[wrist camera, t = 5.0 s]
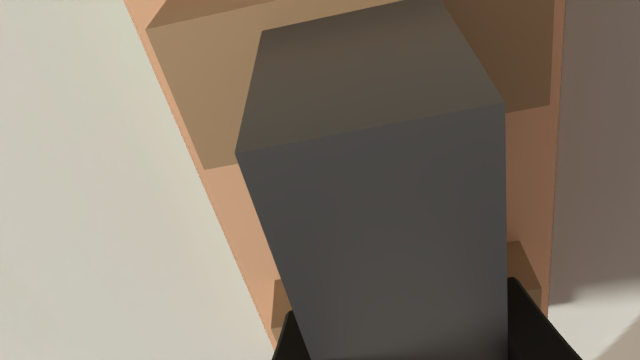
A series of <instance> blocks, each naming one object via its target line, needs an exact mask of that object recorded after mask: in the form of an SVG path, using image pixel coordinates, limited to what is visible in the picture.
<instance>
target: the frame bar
mask: <svg viewBox="0 0 640 360" xmlns="http://www.w3.org/2000/svg"><path fill="white" fill-rule="evenodd" d="M234 154H235V156H236V159H237V162H238V164H239V167H240V170H241V173H242V175H243V178H244V181H245V183H246V186H247V189H248V191H249V194H250V197H251V200H252V202H253V205H254V208H255V210H256V213H257V216H258V218H259V221H260V224H261V226H262V229H263V232H264V235H265V237H266V240H267V243H268V245H269V248H270V251H271V253H272V256H273V259H274V262H275V264H276V267H277V270H278V272H279V275H280V278H281V280H282V283H283V286H284V288H285V291H286V294H287V297H288V299H289V302H290V305H291V307H292V310H293V313H294V315H295V318H296V321H297V323H298V326H299V329H300V332H301V334H302V337H303V340H304V342H305V345H306V348H307V350H308V353H309V356H310V359H311V360H508V308H507V219H506V129H505V101H504V99H503V98H502V96H501V95H500V93H499V91H498V90H497V88H496V87H495V85H494V83H493V82H492V80H491V79H490V77H489V75H488V74H487V72H486V71H485V69H484V67H483V66H482V64H481V63H480V61H479V59H478V58H477V56H476V55H475V53H474V51H473V50H472V48H471V47H470V45H469V43H468V42H467V40H466V39H465V37H464V35H463V34H462V32H461V31H460V29H459V27H458V26H457V24H456V23H455V21H454V19H453V18H452V16H451V15H450V13H449V11H448V10H447V8H446V7H445V5H444V3H443V2H442V0H402V1H397V2H393V3H388V4H384V5H379V6H374V7H370V8H365V9H361V10H356V11H351V12H347V13H342V14H337V15H333V16H328V17H324V18H319V19H314V20H310V21H305V22H300V23H296V24H291V25H287V26H282V27H277V28H273V29H268V30H264V31H262V32H261V37H260V41H259V46H258V50H257V55H256V59H255V64H254V68H253V73H252V77H251V82H250V86H249V90H248V95H247V99H246V104H245V108H244V113H243V117H242V122H241V126H240V131H239V135H238V140H237V144H236V149H235V153H234Z"/></svg>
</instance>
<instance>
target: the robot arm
mask: <svg viewBox="0 0 640 360" xmlns="http://www.w3.org/2000/svg"><path fill="white" fill-rule="evenodd" d="M507 308H508V360H582V359H581V357H580V356H579V355H578V354H577V353H576V352H575V351H574V350H573V349H572V347H571V346H570V345H569V344H568V343H567V342H566V341H565V339H564V338H563V337H562V336H561V335H560V334H559V332H558V331H557V330H556V329H555V327H554V326H553V325H552V324H551V323H550V321H549V320H548V319H547V318H546V316H545V315H544V314H543V313H542V311H541V310H540V309H539V307H538V306H537V305H536V304H535V302H534V301H533V300H532V298H531V297H530V296H529V294H528V293H527V291H526V290H525V289H524V287H523V286H522V284H521V283H520V281H519V280H518V279H516V278H515V277H508V278H507ZM272 360H311V359H310V356H309V353H308V350H307V348H306V345H305V342H304V340H303V337H302V334H301V332H300V329H299V326H298V323H297V321H296V318H295V315H294V313H293V310H291V311H289V312H288V313H287V314H286V315H285V319H284V323H283V326H282V330H281V333H280V336H279V340H278V343H277V346H276V349H275V352H274V355H273V358H272Z"/></svg>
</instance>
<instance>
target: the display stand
mask: <svg viewBox="0 0 640 360" xmlns="http://www.w3.org/2000/svg"><path fill="white" fill-rule="evenodd" d="M397 1H402V0H124V3H125V5H126V7H127V10H128V12H129V14H130V16H131V19H132V21H133V23H134V26H135V28H136V30H137V33H138V35H139V37H140V40H141V42H142V44H143V47H144V49H145V51H146V54H147V56H148V58H149V61H150V63H151V65H152V68H153V70H154V72H155V75H156V77H157V79H158V82H159V84H160V86H161V88H162V91H163V93H164V95H165V98H166V100H167V102H168V105H169V107H170V109H171V112H172V114H173V116H174V119H175V121H176V123H177V126H178V128H179V130H180V133H181V135H182V137H183V140H184V142H185V144H186V147H187V149H188V151H189V154H190V156H191V158H192V160H193V163H194V165H195V167H196V170H197V172H198V174H199V177H200V179H201V181H202V184H203V186H204V188H205V191H206V193H207V195H208V198H209V200H210V202H211V205H212V207H213V209H214V212H215V214H216V216H217V219H218V221H219V223H220V226H221V228H222V230H223V232H224V235H225V237H226V239H227V242H228V244H229V246H230V249H231V251H232V253H233V256H234V258H235V260H236V263H237V265H238V267H239V270H240V272H241V274H242V277H243V279H244V281H245V284H246V286H247V288H248V291H249V293H250V295H251V298H252V300H253V302H254V304H255V307H256V309H257V311H258V314H259V316H260V318H261V321H262V323H263V325H264V328H265V330H266V332H267V335H268V337H269V339H270V342H271V344H272V346H273V349H274V351H275V349H276V346H277V343H278V340H279V336H280V333H281V330H282V326H283V323H284V319H285V315H286V314H287V313H288V312H289V311H291V310H292V307H291V305H290V302H289V299H288V297H287V294H286V291H285V288H284V286H283V283H282V280H281V278H280V275H279V272H278V270H277V267H276V264H275V262H274V259H273V256H272V253H271V251H270V248H269V245H268V243H267V240H266V237H265V235H264V232H263V229H262V226H261V224H260V221H259V218H258V216H257V213H256V210H255V208H254V205H253V202H252V200H251V197H250V194H249V191H248V189H247V186H246V183H245V181H244V178H243V175H242V173H241V170H240V167H239V164H238V162H237V159H236V156H235V154H234V153H235V149H236V144H237V140H238V135H239V131H240V126H241V122H242V117H243V113H244V108H245V104H246V99H247V95H248V90H249V86H250V82H251V77H252V73H253V68H254V64H255V59H256V55H257V50H258V46H259V41H260V37H261V32H262V31H264V30H268V29H273V28H277V27H282V26H287V25H291V24H296V23H300V22H305V21H310V20H314V19H319V18H324V17H328V16H333V15H337V14H342V13H347V12H351V11H356V10H361V9H365V8H370V7H374V6H379V5H384V4H388V3H393V2H397ZM442 2H443V3H444V5H445V7H446V8H447V10H448V11H449V13H450V15H451V16H452V18H453V19H454V21H455V23H456V24H457V26H458V27H459V29H460V31H461V32H462V34H463V35H464V37H465V39H466V40H467V42H468V43H469V45H470V47H471V48H472V50H473V51H474V53H475V55H476V56H477V58H478V59H479V61H480V63H481V64H482V66H483V67H484V69H485V71H486V72H487V74H488V75H489V77H490V79H491V80H492V82H493V83H494V85H495V87H496V88H497V90H498V91H499V93H500V95H501V96H502V98H503V99H504V101H505V129H506V219H507V278H508V277H515V278H516V279H518V280H519V281H520V283H521V284H522V286H523V287H524V289H525V290H526V291H527V293H528V294H529V296H530V297H531V298H532V300H533V301H534V302H535V304H536V305H537V306H538V307H539V309H540V310H541V311H542V313H543V314H544V315H545V316H546V318H548V301H549V283H550V265H551V248H552V230H553V212H554V195H555V177H556V159H557V142H558V124H559V106H560V88H561V71H562V53H563V35H564V18H565V0H442Z"/></svg>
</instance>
